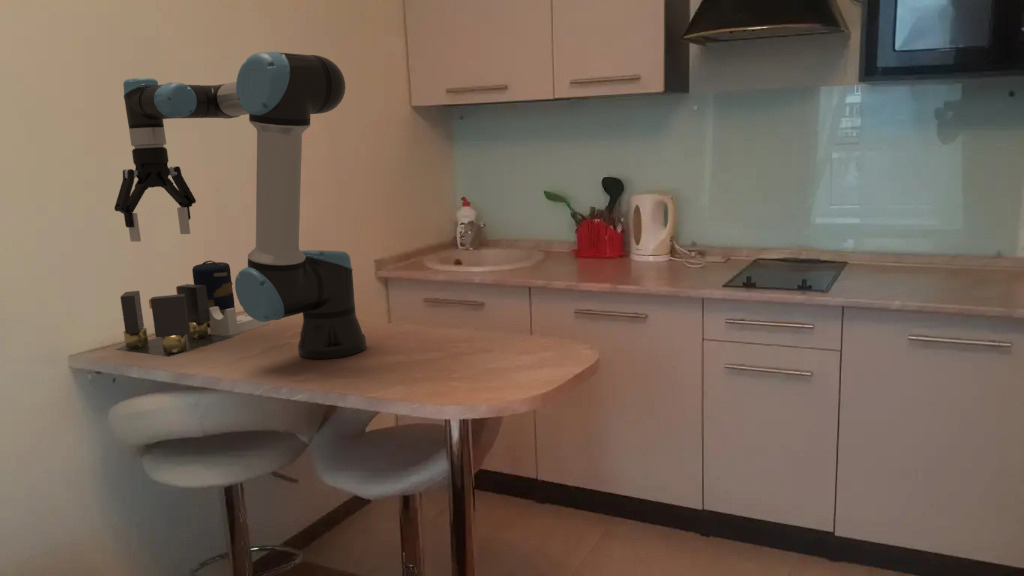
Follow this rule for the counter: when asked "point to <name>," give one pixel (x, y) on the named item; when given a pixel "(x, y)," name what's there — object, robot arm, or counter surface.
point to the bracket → (231, 322)
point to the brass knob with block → (133, 320)
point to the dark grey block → (170, 321)
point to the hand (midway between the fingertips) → (161, 237)
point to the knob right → (196, 309)
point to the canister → (215, 284)
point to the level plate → (191, 343)
